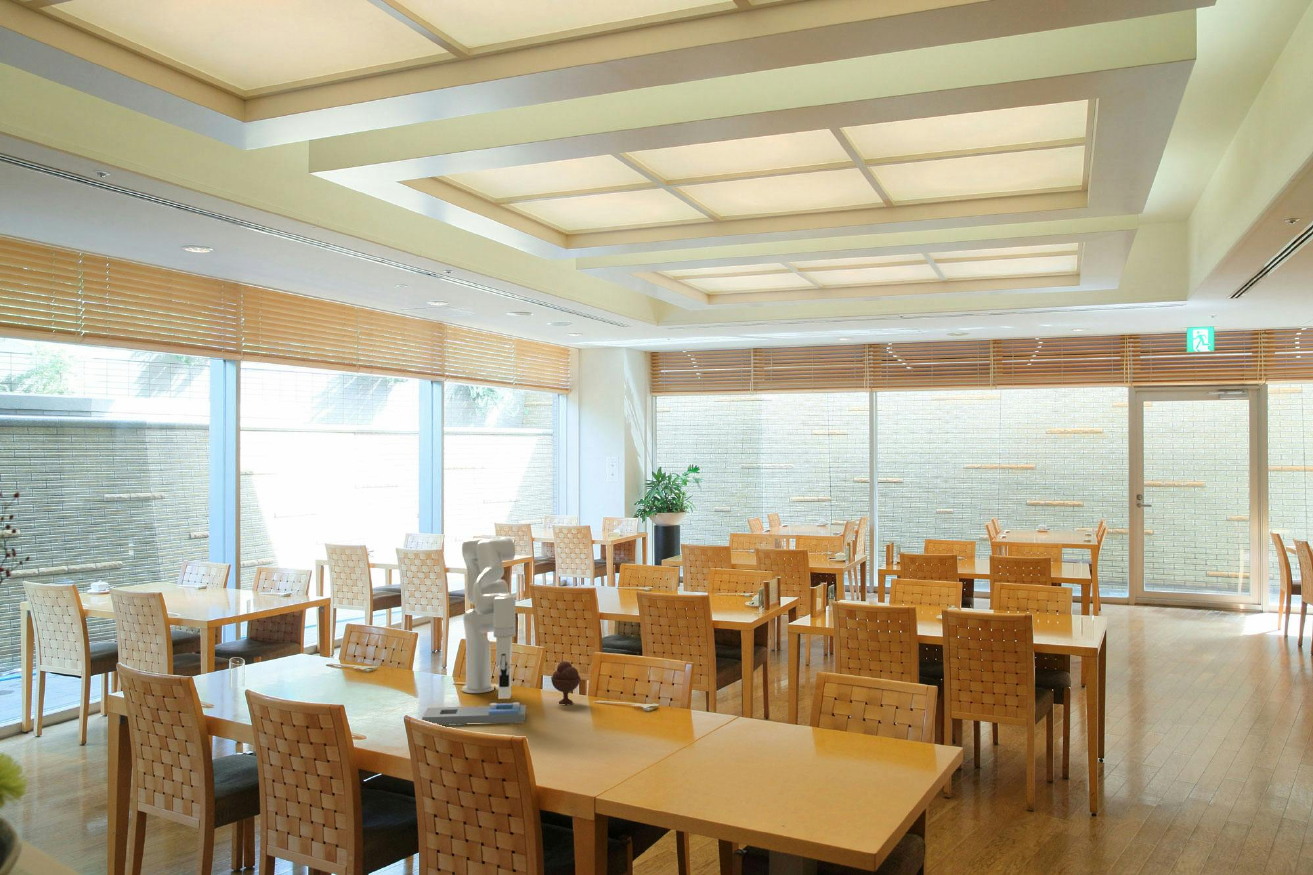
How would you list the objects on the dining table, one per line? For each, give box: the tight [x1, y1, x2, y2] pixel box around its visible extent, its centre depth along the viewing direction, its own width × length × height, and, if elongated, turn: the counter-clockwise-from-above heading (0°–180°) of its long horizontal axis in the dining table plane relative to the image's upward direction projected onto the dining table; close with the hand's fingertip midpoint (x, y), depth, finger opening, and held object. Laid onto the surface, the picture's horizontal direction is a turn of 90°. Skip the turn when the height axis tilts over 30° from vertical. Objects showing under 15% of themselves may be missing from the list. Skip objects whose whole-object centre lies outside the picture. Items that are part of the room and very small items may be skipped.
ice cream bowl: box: [550, 661, 581, 705], centre depth 340 cm, size 11×11×15 cm
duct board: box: [421, 701, 527, 726], centre depth 319 cm, size 12×34×5 cm, turn 95°
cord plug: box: [497, 664, 512, 700], centre depth 320 cm, size 4×4×12 cm
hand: (504, 684), depth 320 cm, fingers closed on cord plug, 4 cm apart
